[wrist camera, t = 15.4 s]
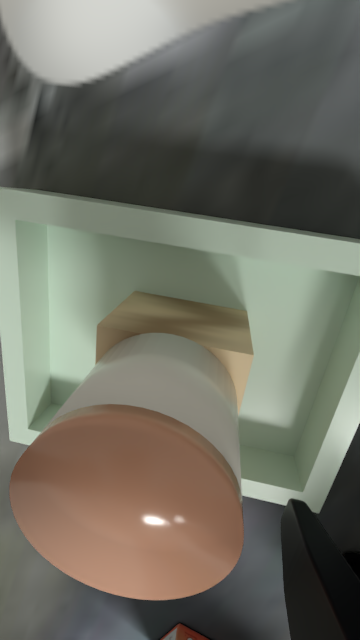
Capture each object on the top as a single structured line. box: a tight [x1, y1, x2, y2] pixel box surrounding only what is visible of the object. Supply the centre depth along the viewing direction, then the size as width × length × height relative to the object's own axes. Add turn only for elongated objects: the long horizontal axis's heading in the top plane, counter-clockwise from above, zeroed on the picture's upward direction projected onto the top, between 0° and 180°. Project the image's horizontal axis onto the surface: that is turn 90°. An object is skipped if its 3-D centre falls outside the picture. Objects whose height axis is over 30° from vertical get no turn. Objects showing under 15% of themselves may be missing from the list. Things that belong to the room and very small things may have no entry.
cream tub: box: [9, 333, 244, 600], centre depth 10 cm, size 6×6×5 cm
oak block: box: [95, 291, 254, 415], centre depth 15 cm, size 6×6×5 cm
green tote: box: [0, 187, 360, 513], centre depth 16 cm, size 18×14×4 cm
